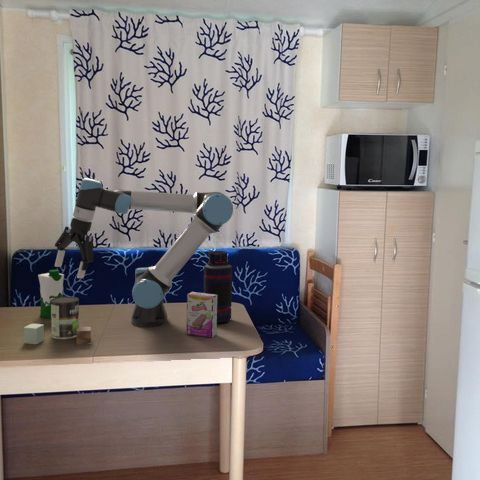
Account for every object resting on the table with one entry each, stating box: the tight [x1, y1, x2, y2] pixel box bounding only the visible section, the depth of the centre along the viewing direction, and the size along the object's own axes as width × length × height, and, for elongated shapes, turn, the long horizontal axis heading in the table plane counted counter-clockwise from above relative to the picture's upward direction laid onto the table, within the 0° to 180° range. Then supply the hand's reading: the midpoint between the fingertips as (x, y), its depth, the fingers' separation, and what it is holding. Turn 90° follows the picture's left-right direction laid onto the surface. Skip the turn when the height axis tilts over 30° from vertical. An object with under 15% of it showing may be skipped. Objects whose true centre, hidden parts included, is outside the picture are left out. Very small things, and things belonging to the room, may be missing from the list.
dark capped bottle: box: [203, 250, 233, 324], centre depth 231 cm, size 14×12×30 cm
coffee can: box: [50, 296, 80, 340], centre depth 208 cm, size 10×10×14 cm
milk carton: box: [37, 269, 65, 319], centre depth 233 cm, size 9×9×20 cm
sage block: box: [23, 323, 45, 345], centre depth 201 cm, size 5×5×6 cm
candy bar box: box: [185, 291, 218, 339], centre depth 212 cm, size 11×5×16 cm, turn 71°
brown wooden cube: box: [76, 326, 92, 345], centre depth 202 cm, size 5×5×5 cm
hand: (68, 272), depth 209 cm, fingers open, 13 cm apart
